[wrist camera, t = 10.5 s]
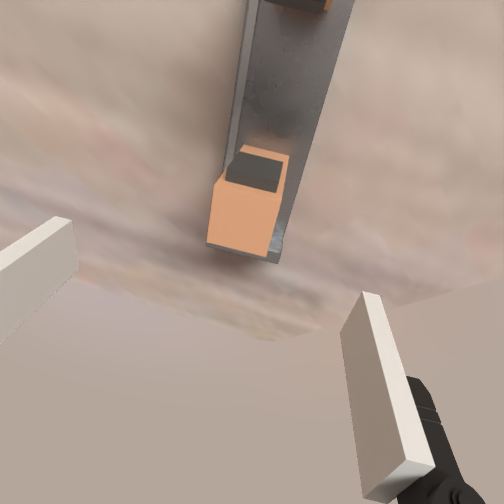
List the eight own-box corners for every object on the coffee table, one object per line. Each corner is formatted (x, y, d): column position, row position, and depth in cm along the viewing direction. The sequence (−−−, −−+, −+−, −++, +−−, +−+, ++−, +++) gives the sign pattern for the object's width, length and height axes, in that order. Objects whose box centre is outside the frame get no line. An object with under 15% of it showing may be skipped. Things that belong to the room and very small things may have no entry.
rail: (218, 222, 33) (205, 245, 28) (284, -206, 17) (277, -291, 13) (281, 238, 32) (277, 264, 28) (405, -179, 17) (437, -257, 13)
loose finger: (230, 216, 30) (201, 277, 21) (245, 134, 25) (216, 171, 17) (270, 226, 30) (256, 291, 21) (291, 146, 25) (284, 188, 17)
